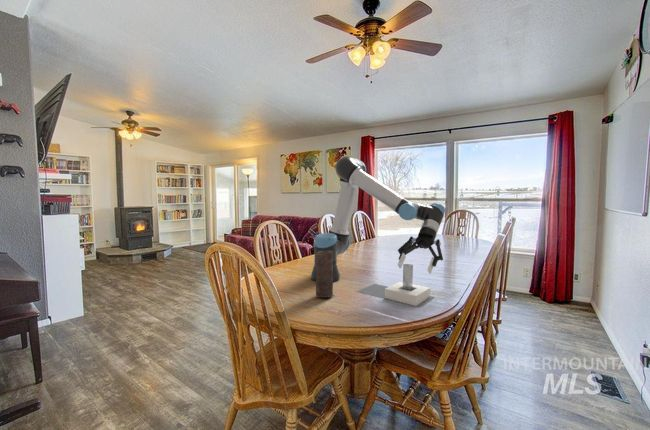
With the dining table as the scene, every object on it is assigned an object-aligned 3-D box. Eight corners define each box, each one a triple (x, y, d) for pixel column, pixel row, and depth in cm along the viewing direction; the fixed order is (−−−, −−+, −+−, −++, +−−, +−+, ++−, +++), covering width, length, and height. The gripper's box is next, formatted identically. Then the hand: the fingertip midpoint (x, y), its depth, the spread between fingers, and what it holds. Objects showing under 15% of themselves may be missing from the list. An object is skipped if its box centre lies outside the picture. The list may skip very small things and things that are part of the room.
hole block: (384, 297, 128) (384, 288, 128) (399, 290, 139) (400, 281, 139) (416, 305, 119) (416, 296, 119) (429, 296, 130) (430, 287, 130)
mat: (356, 292, 137) (356, 291, 137) (374, 284, 149) (374, 283, 149) (420, 309, 117) (420, 307, 117) (435, 298, 129) (435, 297, 129)
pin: (400, 297, 129) (401, 265, 128) (405, 295, 132) (405, 263, 131) (409, 299, 126) (410, 266, 126) (413, 297, 130) (414, 264, 129)
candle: (331, 300, 126) (331, 253, 125) (313, 299, 128) (314, 252, 126) (334, 294, 134) (334, 250, 132) (317, 293, 135) (318, 249, 134)
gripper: (458, 239, 135) (444, 279, 125) (406, 233, 151) (390, 269, 141) (454, 228, 130) (440, 269, 120) (401, 224, 147) (385, 259, 137)
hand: (413, 269), depth 131 cm, fingers open, 13 cm apart
